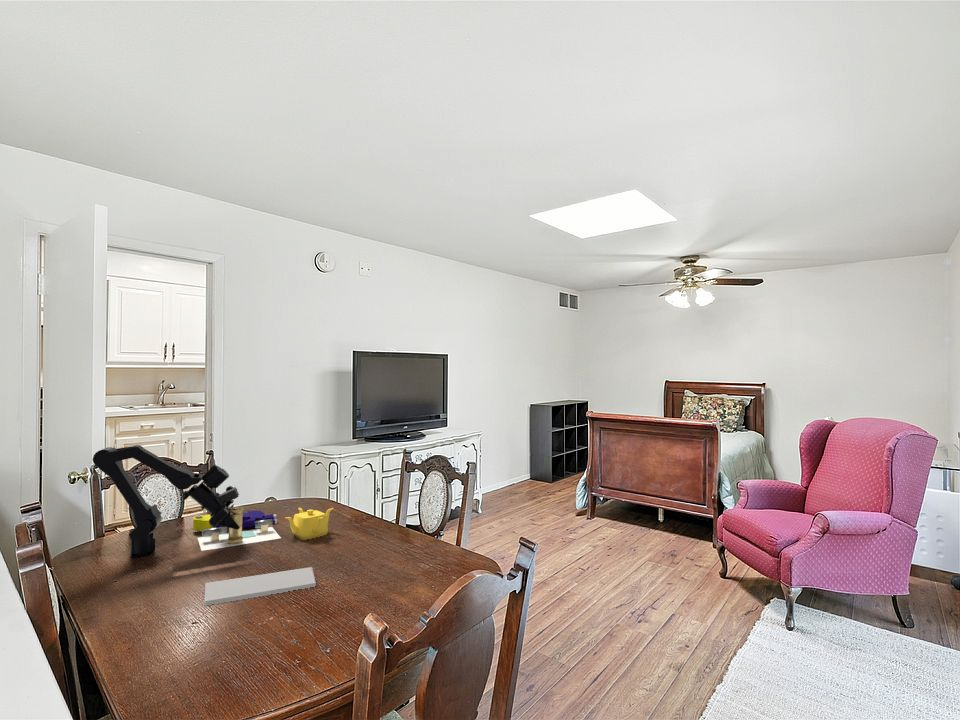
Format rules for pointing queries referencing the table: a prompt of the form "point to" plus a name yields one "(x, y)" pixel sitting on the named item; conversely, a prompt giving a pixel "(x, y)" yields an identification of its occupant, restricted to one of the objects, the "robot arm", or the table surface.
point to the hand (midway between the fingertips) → (239, 526)
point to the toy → (247, 522)
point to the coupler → (236, 514)
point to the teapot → (309, 524)
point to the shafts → (215, 532)
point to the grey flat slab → (258, 585)
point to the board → (248, 537)
